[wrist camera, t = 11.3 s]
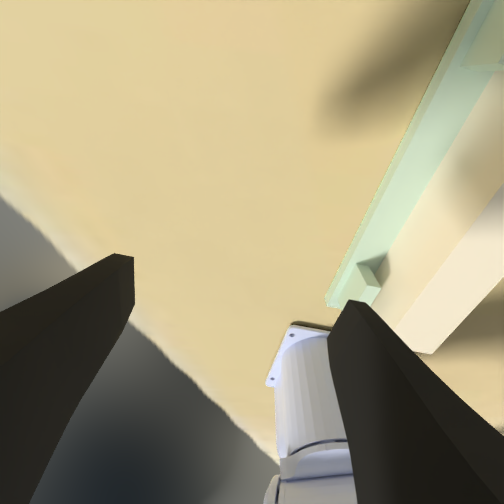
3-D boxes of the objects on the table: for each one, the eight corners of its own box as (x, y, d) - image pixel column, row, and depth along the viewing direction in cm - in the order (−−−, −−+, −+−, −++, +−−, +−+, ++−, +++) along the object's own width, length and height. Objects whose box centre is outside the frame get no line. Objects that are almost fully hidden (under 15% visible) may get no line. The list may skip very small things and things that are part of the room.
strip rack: (411, 314, 23) (433, 348, 20) (324, 297, 22) (333, 330, 19) (657, -8, 12) (786, -38, 9) (500, -60, 11) (584, -112, 8)
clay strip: (401, 306, 21) (431, 354, 17) (360, 298, 21) (382, 345, 17) (608, 18, 12) (773, -14, 8) (539, -5, 11) (676, -48, 8)
